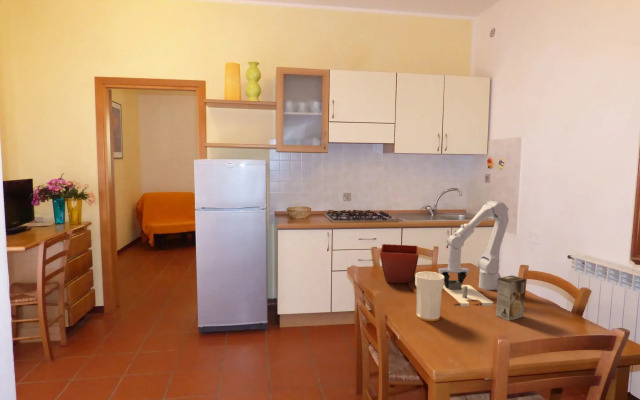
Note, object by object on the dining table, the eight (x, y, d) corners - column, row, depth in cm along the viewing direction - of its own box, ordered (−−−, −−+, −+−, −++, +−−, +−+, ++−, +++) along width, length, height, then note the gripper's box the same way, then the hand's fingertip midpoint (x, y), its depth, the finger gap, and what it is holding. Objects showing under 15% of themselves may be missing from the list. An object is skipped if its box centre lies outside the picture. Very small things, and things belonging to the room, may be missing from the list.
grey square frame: (456, 285, 193) (456, 279, 193) (461, 289, 188) (461, 283, 187) (444, 285, 193) (445, 280, 193) (449, 289, 187) (449, 283, 187)
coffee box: (510, 311, 166) (512, 274, 164) (523, 317, 160) (526, 279, 158) (495, 315, 161) (497, 277, 160) (509, 321, 156) (511, 282, 154)
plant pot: (379, 284, 200) (379, 251, 198) (381, 273, 218) (382, 243, 216) (417, 287, 196) (418, 254, 194) (416, 275, 214) (417, 245, 212)
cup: (438, 325, 151) (440, 281, 150) (409, 318, 157) (411, 276, 155) (445, 315, 161) (447, 274, 159) (418, 309, 167) (420, 269, 165)
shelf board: (469, 287, 195) (469, 275, 195) (493, 306, 171) (494, 291, 171) (439, 288, 194) (440, 275, 193) (460, 306, 170) (461, 292, 170)
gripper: (465, 257, 193) (463, 284, 195) (436, 257, 192) (435, 284, 194) (471, 261, 186) (470, 289, 188) (442, 261, 185) (440, 289, 187)
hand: (453, 287), depth 190 cm, fingers closed on grey square frame, 6 cm apart
